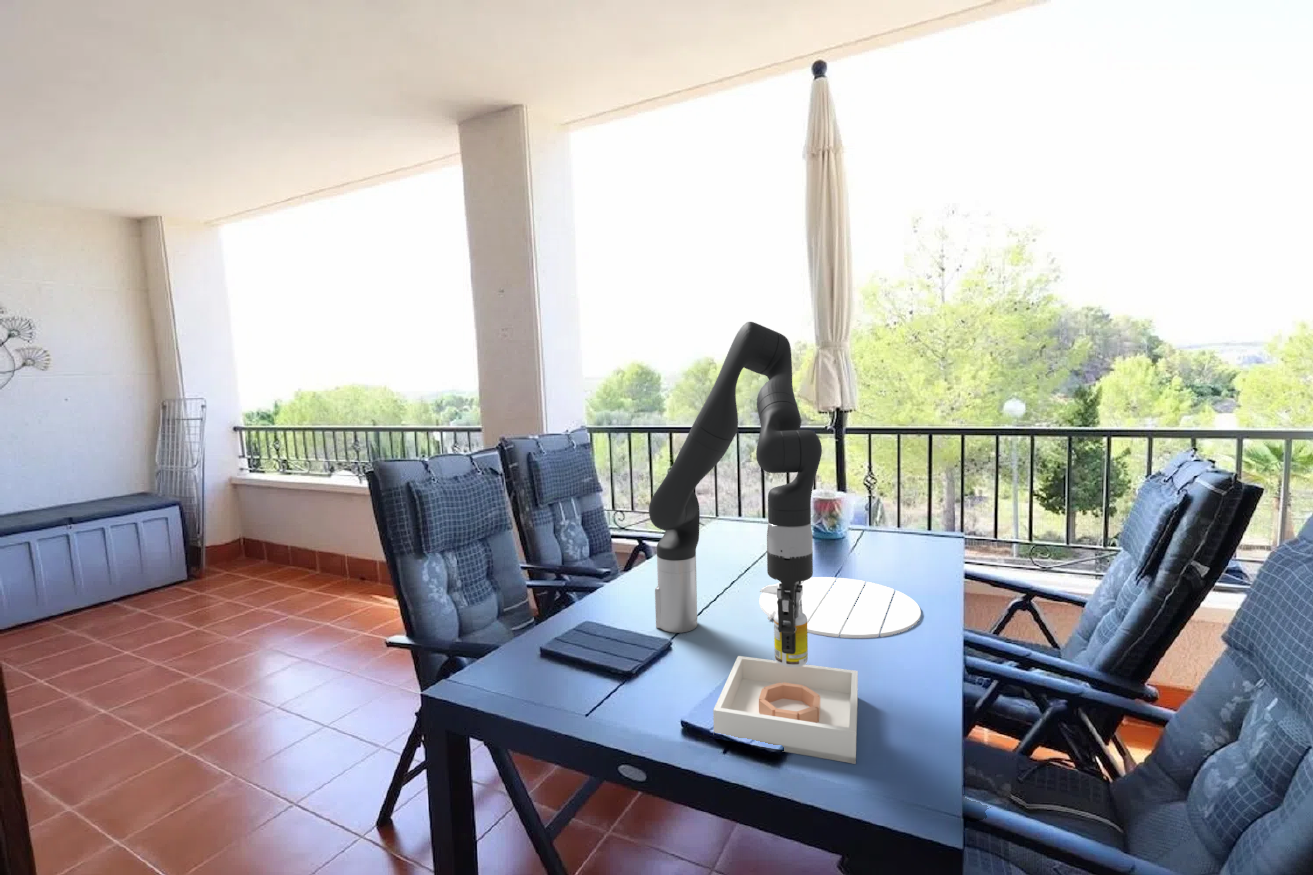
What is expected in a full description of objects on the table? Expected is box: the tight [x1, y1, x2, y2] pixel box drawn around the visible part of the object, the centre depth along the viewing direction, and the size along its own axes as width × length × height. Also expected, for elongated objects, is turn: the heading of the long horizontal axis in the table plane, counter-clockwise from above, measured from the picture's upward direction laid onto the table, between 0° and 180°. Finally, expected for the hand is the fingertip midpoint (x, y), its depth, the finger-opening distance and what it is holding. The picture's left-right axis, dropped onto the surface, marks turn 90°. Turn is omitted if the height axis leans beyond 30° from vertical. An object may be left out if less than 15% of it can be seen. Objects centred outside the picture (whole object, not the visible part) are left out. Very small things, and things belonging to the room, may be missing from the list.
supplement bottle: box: [773, 602, 809, 668], centre depth 103 cm, size 6×6×10 cm
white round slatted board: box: [758, 576, 922, 639], centre depth 154 cm, size 40×39×3 cm
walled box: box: [712, 655, 859, 765], centre depth 104 cm, size 22×20×5 cm
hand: (790, 644), depth 103 cm, fingers closed on supplement bottle, 5 cm apart
